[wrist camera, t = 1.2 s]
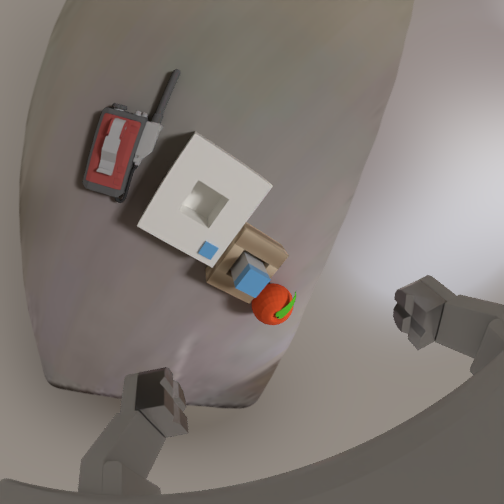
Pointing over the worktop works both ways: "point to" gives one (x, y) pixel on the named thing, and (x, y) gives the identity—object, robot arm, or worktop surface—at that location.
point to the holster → (244, 240)
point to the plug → (249, 274)
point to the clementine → (273, 304)
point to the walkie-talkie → (122, 145)
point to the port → (203, 200)
